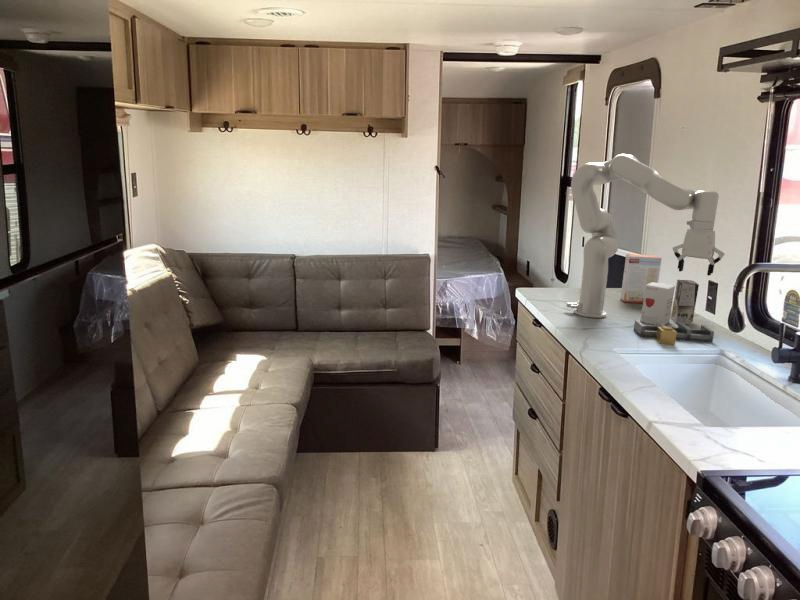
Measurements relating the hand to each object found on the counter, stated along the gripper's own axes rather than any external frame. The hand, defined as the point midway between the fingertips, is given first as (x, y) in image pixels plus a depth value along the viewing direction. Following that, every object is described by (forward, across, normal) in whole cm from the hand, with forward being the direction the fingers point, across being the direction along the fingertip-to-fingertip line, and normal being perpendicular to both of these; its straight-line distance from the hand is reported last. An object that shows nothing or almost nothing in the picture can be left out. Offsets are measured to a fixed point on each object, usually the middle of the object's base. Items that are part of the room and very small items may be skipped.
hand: (694, 273), depth 233 cm
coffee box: (+23, -6, +19) cm, 30 cm away
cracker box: (+23, -30, +40) cm, 55 cm away
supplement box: (+23, -13, +8) cm, 28 cm away
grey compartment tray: (+23, -3, -8) cm, 24 cm away
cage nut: (+23, -2, -19) cm, 30 cm away
